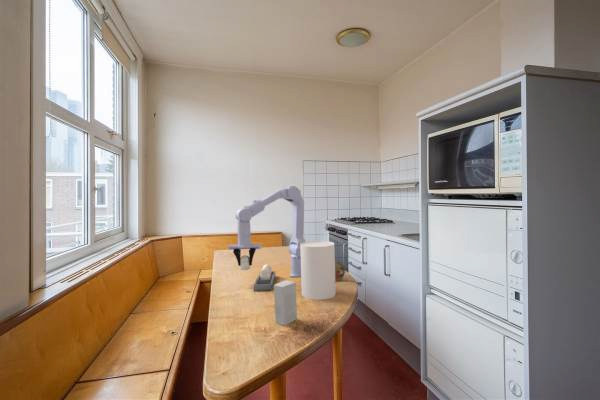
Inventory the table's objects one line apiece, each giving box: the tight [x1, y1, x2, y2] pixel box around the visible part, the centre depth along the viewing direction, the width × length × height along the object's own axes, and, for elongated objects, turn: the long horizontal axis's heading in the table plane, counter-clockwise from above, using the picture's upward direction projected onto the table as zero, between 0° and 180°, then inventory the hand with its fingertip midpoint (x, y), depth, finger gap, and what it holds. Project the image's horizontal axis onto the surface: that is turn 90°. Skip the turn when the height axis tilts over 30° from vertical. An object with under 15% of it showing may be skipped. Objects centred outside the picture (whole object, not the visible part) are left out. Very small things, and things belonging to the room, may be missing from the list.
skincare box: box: [273, 279, 298, 326], centre depth 90 cm, size 6×4×12 cm
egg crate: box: [253, 263, 276, 292], centre depth 130 cm, size 7×21×7 cm, turn 0°
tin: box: [335, 261, 346, 282], centre depth 132 cm, size 15×3×8 cm, turn 73°
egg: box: [239, 254, 251, 271], centre depth 130 cm, size 4×4×6 cm
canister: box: [300, 240, 337, 301], centre depth 114 cm, size 14×14×20 cm
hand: (245, 265), depth 130 cm, fingers closed on egg, 4 cm apart
